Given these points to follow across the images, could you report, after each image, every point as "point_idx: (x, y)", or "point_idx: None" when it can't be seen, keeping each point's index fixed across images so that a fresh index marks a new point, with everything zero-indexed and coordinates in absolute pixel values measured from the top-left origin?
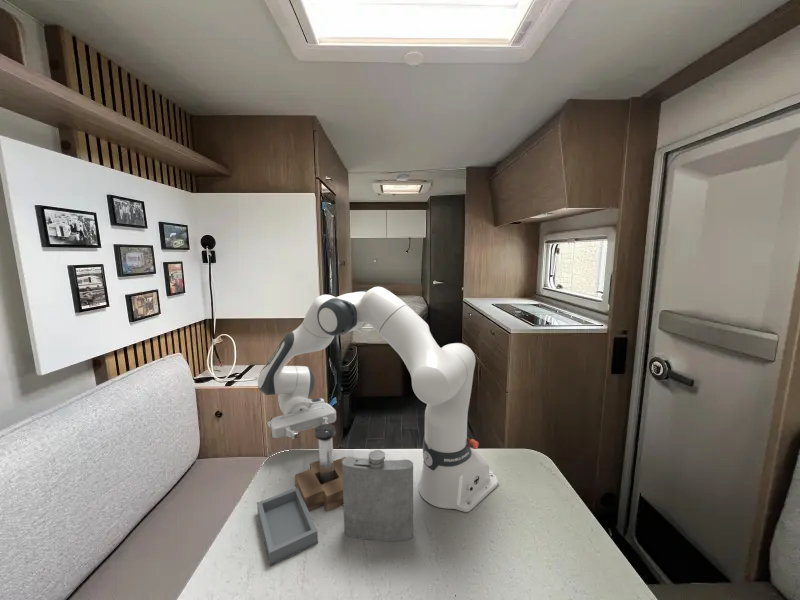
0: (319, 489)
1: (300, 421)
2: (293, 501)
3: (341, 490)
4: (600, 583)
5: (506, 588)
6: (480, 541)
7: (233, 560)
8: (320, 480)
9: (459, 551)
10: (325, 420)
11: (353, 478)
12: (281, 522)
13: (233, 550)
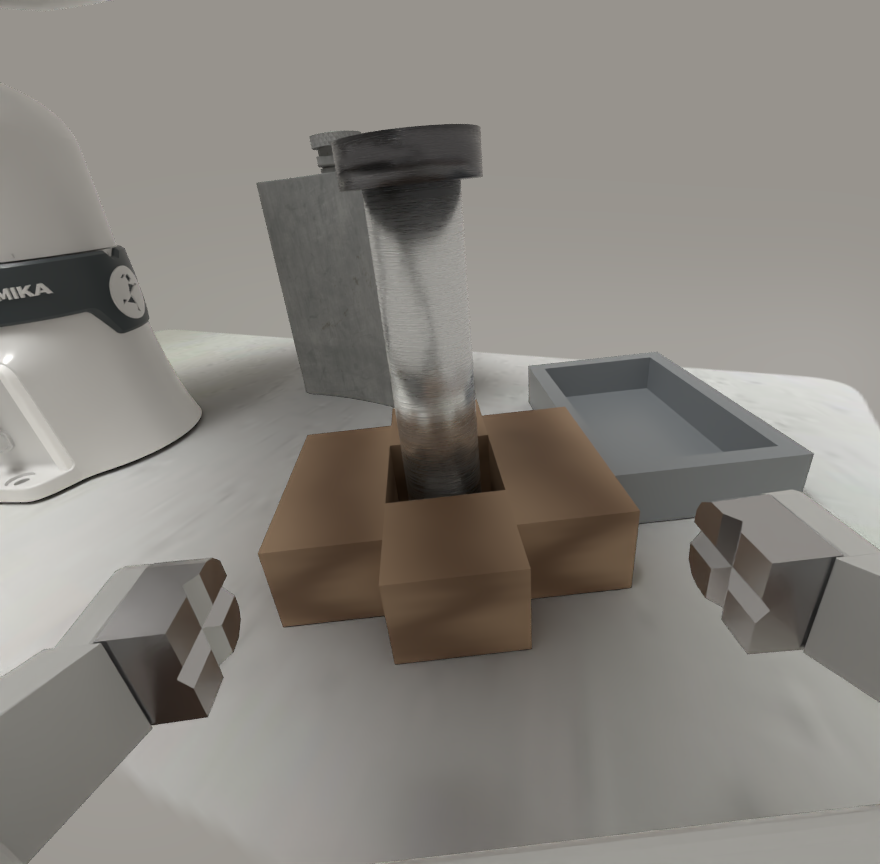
0: (498, 421)
1: (786, 831)
2: None
3: None
4: (182, 334)
5: (275, 339)
6: (224, 366)
7: (777, 407)
8: (480, 480)
9: (272, 363)
10: (3, 704)
11: None
12: (655, 444)
13: (801, 423)
